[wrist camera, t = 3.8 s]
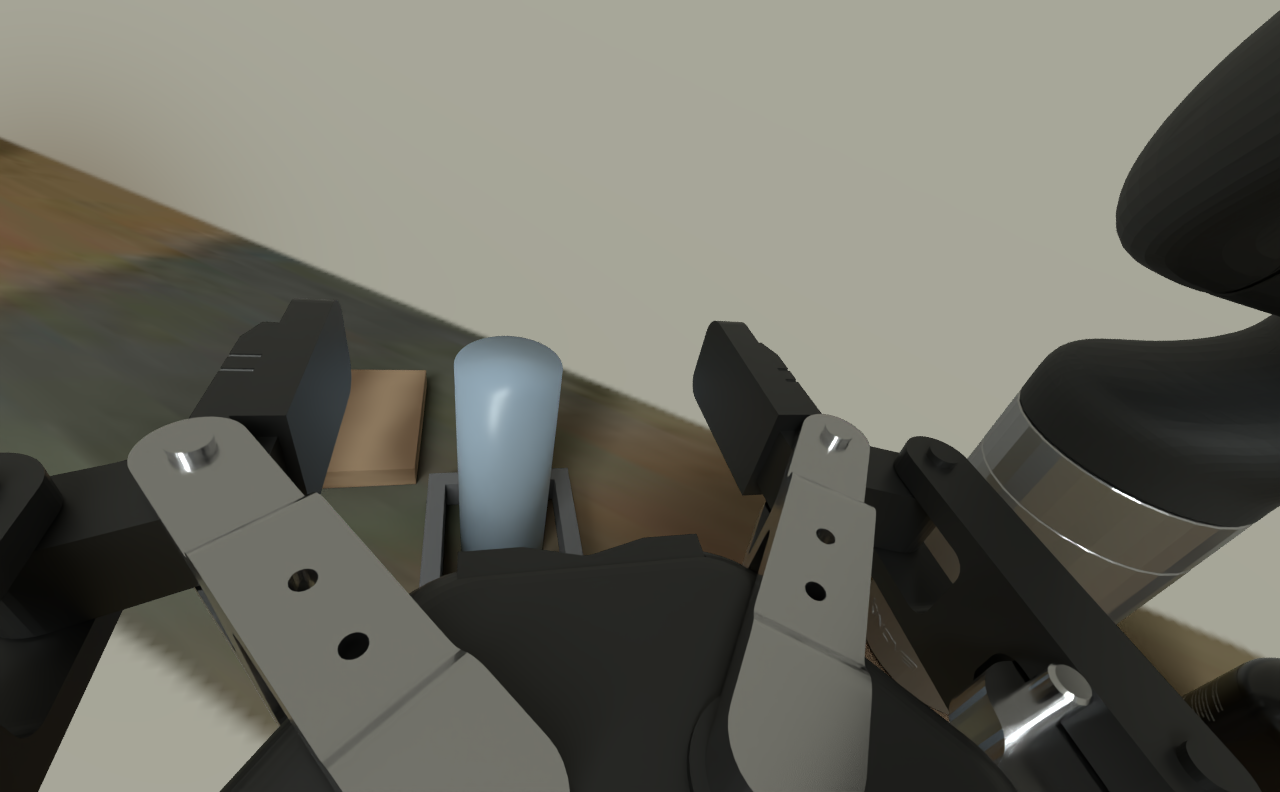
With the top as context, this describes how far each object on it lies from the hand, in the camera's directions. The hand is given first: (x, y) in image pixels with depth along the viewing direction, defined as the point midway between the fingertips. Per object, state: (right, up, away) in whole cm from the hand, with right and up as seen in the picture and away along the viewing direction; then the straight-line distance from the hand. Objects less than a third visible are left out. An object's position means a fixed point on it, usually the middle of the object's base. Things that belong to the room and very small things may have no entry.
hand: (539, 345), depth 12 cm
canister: (-6, -11, +22) cm, 25 cm away
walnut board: (-19, -4, +27) cm, 33 cm away
